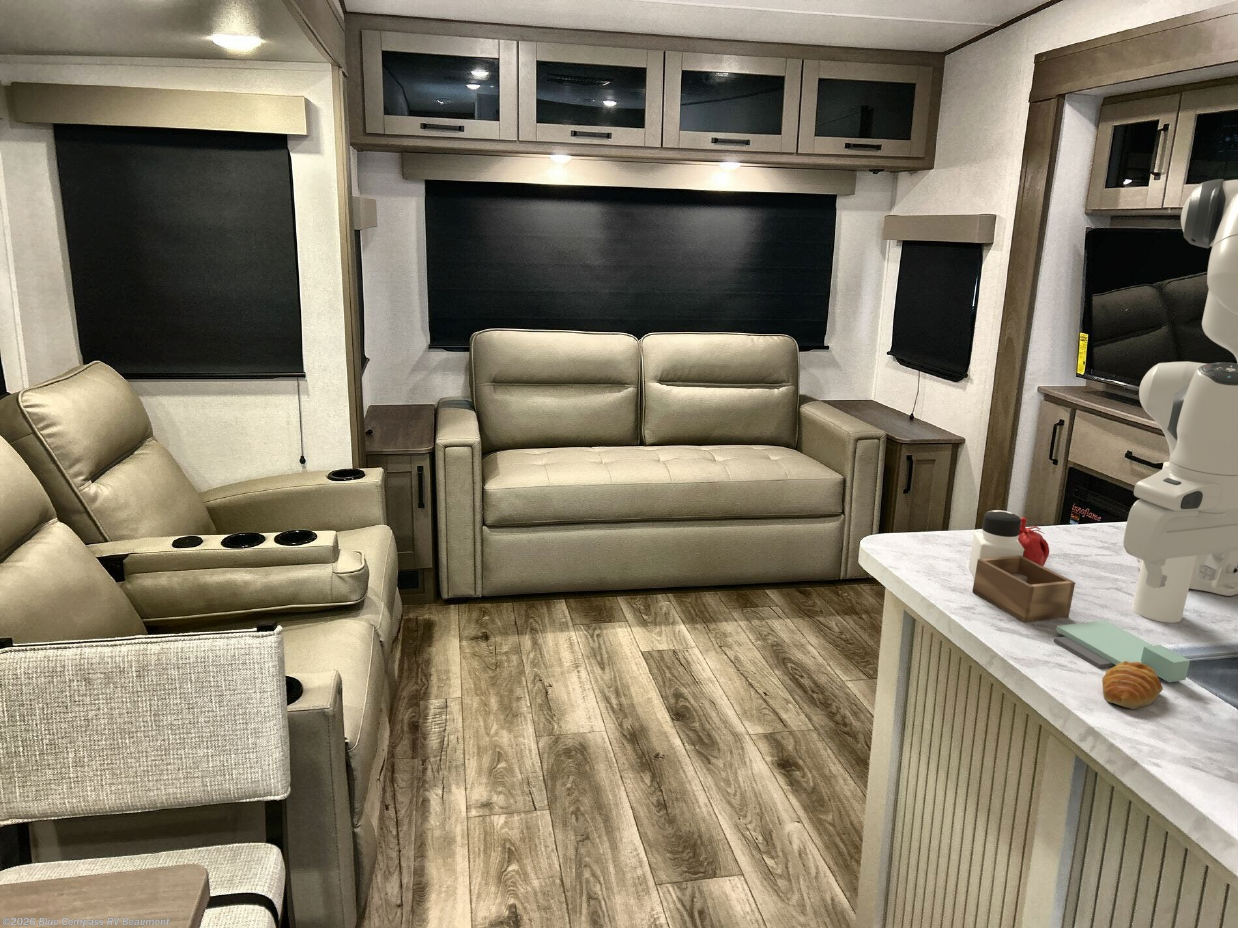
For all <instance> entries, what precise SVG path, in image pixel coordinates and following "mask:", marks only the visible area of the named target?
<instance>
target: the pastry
mask: <svg viewBox="0 0 1238 928" xmlns="http://www.w3.org/2000/svg"><path fill="white" fill-rule="evenodd" d="M1159 678H1160V677H1159V676H1157V675H1156V673H1155V671H1154V670H1153V669H1152V668H1151V667H1149V666H1147V665H1145V664H1143V663H1140V662H1127V661H1124V662H1123V663H1119V664H1117V665H1116V666H1113V667H1110V668H1109V669H1108V670H1107V671H1106V672H1105V673H1104V675H1103V677H1102V680H1101V681H1102V694H1103V698H1104V699H1105V700H1106V702H1108V703H1110V704H1112V703H1113V704H1116V705H1118V706H1121V707H1123V708H1127V709H1130V710H1136V709H1138V708H1143V707H1149V706H1151V705H1152V702H1154V701H1155V700H1156V699H1157V698H1158V696H1159V695H1160V694H1161V693H1162V691H1163V690H1164V687H1163V685H1162V683H1161V681H1160V679H1159ZM1137 707H1138V708H1137Z"/></svg>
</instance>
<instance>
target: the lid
mask: <svg viewBox="0 0 1238 928" xmlns="http://www.w3.org/2000/svg"><path fill="white" fill-rule="evenodd" d="M1055 631H1056V632H1057V633H1058V634H1061V635H1062V636H1063V637H1065V636H1066V637H1068V638H1069V639H1071V640H1073V641H1075V642H1076V643H1078V644H1080V645H1082V646H1083V647H1085V648H1087V649H1089V650H1090V651H1092V652H1094V653H1096V654H1097V655H1099V656H1101V657H1103V658H1104V659H1106V660H1108V661H1110V662H1111V663H1113V664H1115V665H1117V664H1119V663H1123V662H1124V661H1127V662H1140V663H1143V664H1145V665H1147V666H1149V667H1151V668H1152V669H1153V670H1154V671H1155V673H1156V675H1157V677H1158V678H1161V679H1163V680H1164V681H1165V682H1167V683H1175V682H1180V681H1182V682H1183V681H1186V680H1187V675H1188V671H1189V667H1190V664H1191V663H1190V662H1191V660H1190V659H1189V658H1186V657H1184V656H1183V655H1180V654H1179V653H1177V652H1175V651H1173V650H1172V649H1169V648H1167V647H1165V646H1164V645H1162V644H1155V645H1153V644H1151V643H1150V642H1148V641H1146V640H1144V639H1142V638H1140V637H1138V636H1136V635H1135V634H1133V633H1131V632H1129V631H1126V630H1124V629H1123V628H1121V627H1119V626H1117V625H1115V624H1113V623H1111V622H1109V620H1108V621H1107V620H1097V621H1089V622H1079V623H1071V624H1070V623H1069V624H1063V625H1057V626H1056V629H1055Z"/></svg>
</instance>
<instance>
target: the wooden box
mask: <svg viewBox="0 0 1238 928" xmlns="http://www.w3.org/2000/svg"><path fill="white" fill-rule="evenodd" d="M973 579H974V578H973ZM1075 586H1076V582H1075V581H1073V580H1071V579H1069V578H1067V577H1065V576H1063V575H1061V574H1059V573H1057V572H1055V571H1053V570H1051V569H1048V568H1047V567H1045V566H1041V565H1039V564H1037V563H1035V562H1033V561H1031V560H1029V559H1027V558H1025V557H1023V556H1010V557H998V558H987V559H978V561H977V567H976V573H975V579H974V581H973V586H972V592H971V593H973V594H974V595H976V596H978V597H980V598H982V599H983V600H985V601H986V602H988V603H991V605H994V606H995V607H997V608H998V609H1000V610H1002V611H1004V612H1005V613H1007V614H1009V615H1010V616H1012V617H1014V618H1015V619H1018V620H1019V621H1020V622H1022V623H1030V622H1036V621H1045V620H1046V621H1047V620H1055V619H1056V620H1057V619H1063V618H1069V615H1070V611H1071V607H1072V602H1073V596H1074V592H1075Z"/></svg>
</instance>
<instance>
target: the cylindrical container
mask: <svg viewBox="0 0 1238 928" xmlns="http://www.w3.org/2000/svg"><path fill="white" fill-rule="evenodd" d="M1168 465H1169V461H1165V462H1163V466H1162V469H1164V468H1168ZM1196 556H1197V555H1195V556H1187V557H1179V558H1170V559H1166V561H1165V565H1164V566H1161V569H1162V574H1163V575H1166V576H1167V580H1166V582H1165V586H1164V587H1161V588H1153V587H1151V586H1148V585H1147V584H1146V579H1147V574H1148V572H1147V570H1146V567H1145V564H1144V561H1143V560H1142V564H1141V569H1139V573H1138V579H1137V583H1136V589H1135V591H1134V597H1133V602H1132V606H1131V609H1132V611H1133V612H1135V613H1136V614H1137V615H1139V616H1142V617H1144V618H1146V619H1148V620H1152V621H1157V622H1162V623H1168V624H1169V623H1171V624H1172V623H1179V622H1181V621H1182V619H1183V614H1184V611H1185V606H1186V603H1187V602H1186V601H1187V598H1188V595H1189V594H1188V593H1189V589H1190V588H1189V586H1190V582H1191V577H1192V573H1193V569H1194V564H1195V560H1196Z"/></svg>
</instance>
